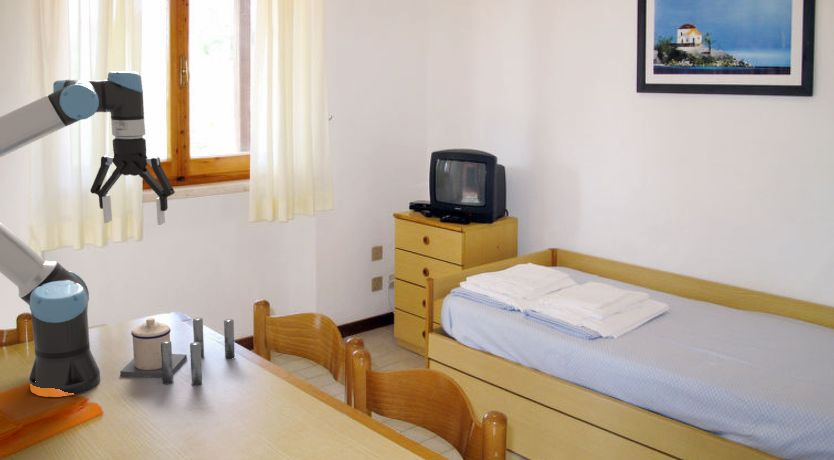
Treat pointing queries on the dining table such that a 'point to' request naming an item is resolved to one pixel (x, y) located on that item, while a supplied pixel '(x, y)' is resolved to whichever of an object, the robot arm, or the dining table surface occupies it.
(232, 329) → the post back right
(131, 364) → the coaster
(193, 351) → the post front right
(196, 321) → the post back left
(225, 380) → the dining table surface
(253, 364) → the dining table surface
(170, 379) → the post front left
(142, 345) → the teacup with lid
